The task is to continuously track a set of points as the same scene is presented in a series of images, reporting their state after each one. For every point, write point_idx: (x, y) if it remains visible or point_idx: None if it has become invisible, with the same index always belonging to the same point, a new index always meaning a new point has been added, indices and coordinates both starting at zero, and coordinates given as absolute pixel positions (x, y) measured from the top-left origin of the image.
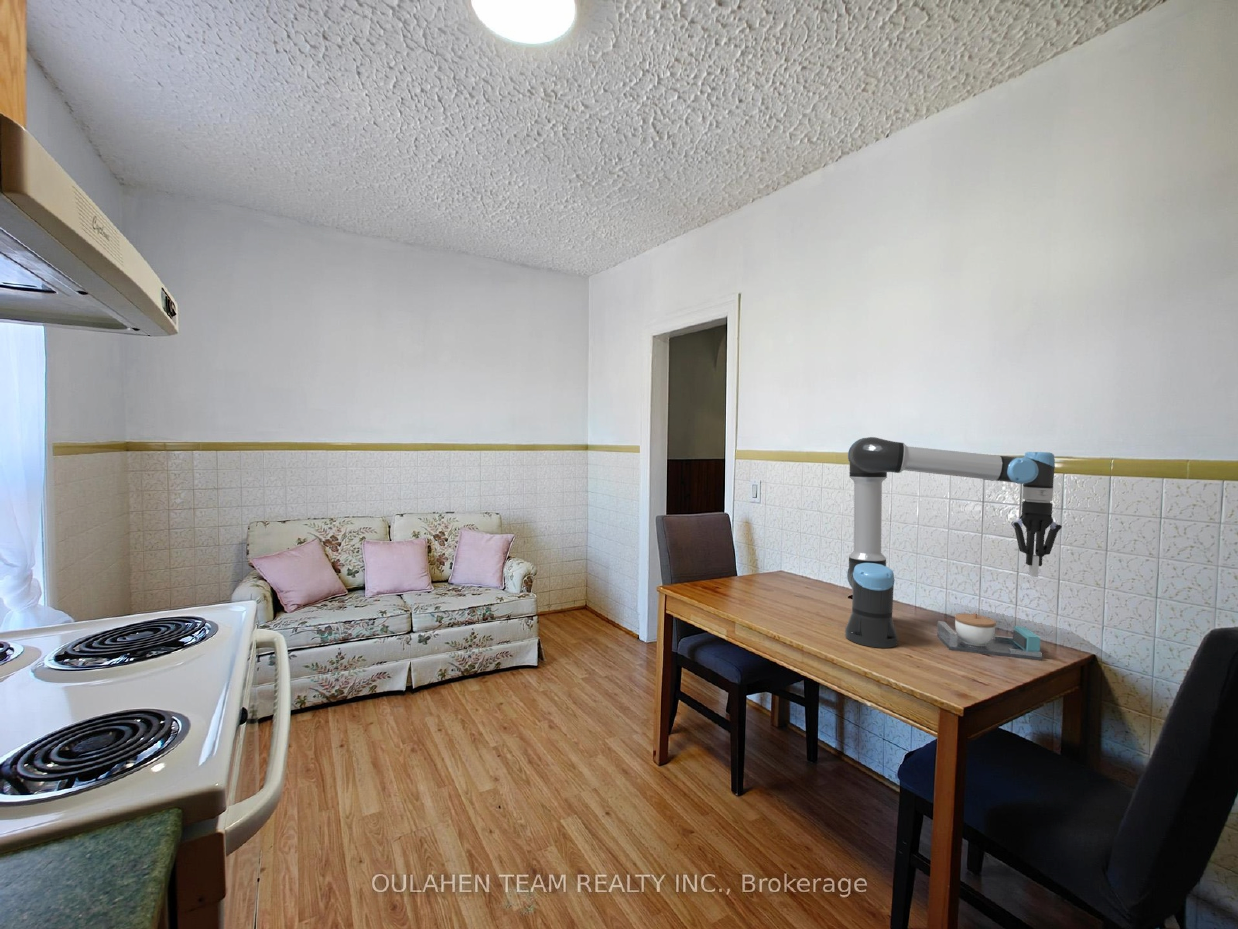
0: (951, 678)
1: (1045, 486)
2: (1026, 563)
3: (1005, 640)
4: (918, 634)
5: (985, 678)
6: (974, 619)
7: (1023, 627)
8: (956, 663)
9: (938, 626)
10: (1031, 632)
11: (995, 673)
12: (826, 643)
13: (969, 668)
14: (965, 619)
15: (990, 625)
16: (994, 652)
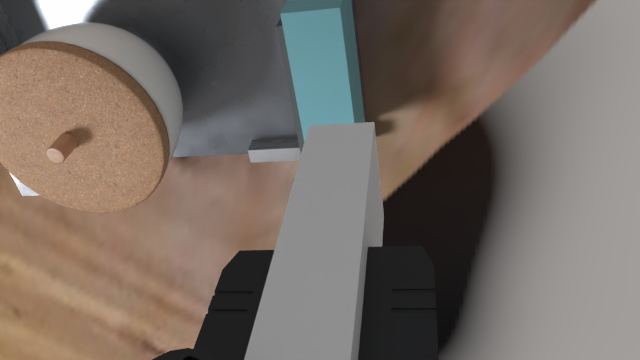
0: (99, 350)
1: None
2: (232, 270)
3: None
4: None
5: (171, 330)
6: (69, 169)
7: (327, 20)
8: (96, 263)
9: None
10: (343, 106)
11: (196, 296)
12: None
13: (132, 285)
14: (34, 181)
15: (144, 199)
16: (201, 154)
